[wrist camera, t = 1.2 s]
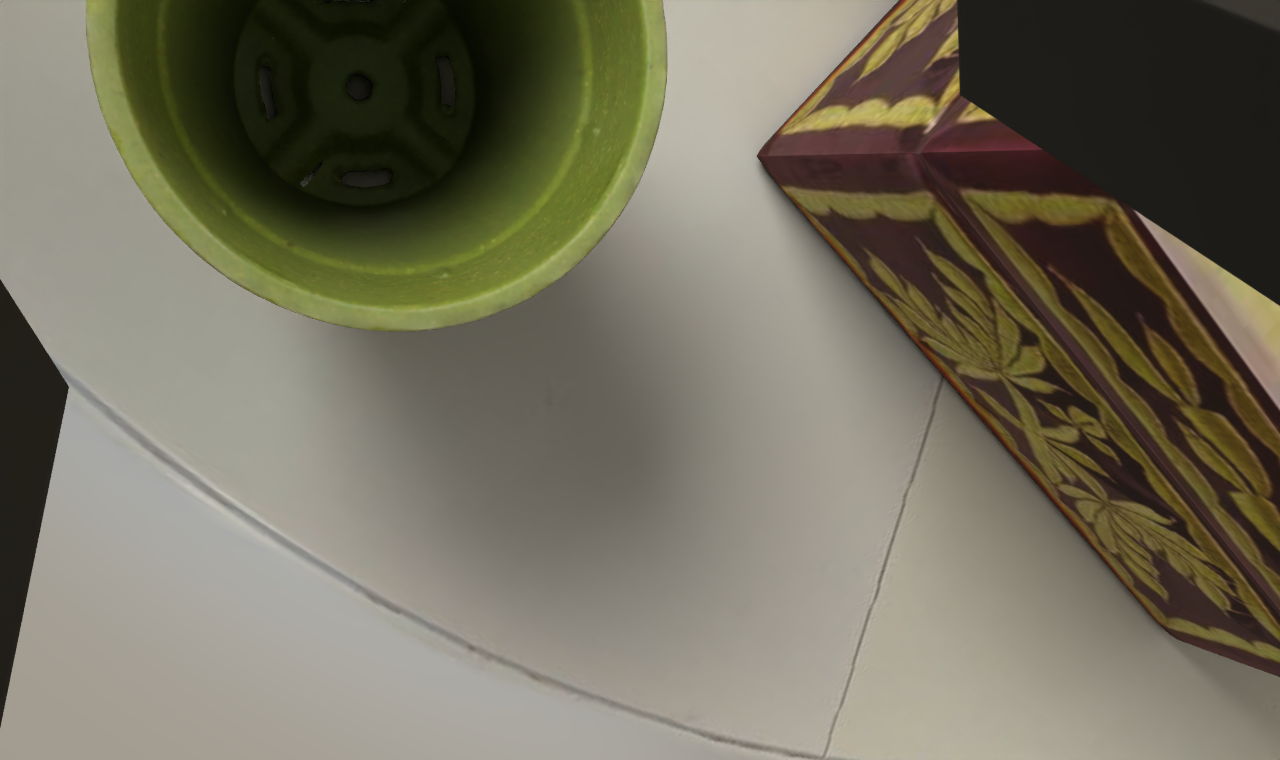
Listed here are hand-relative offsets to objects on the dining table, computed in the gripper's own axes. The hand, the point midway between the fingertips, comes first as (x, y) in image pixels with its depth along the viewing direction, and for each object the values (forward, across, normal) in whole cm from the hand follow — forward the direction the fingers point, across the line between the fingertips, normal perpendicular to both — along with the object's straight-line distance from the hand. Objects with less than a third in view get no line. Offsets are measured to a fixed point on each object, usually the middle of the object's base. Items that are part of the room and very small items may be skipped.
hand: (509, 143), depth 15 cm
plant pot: (+20, -2, -6) cm, 21 cm away
